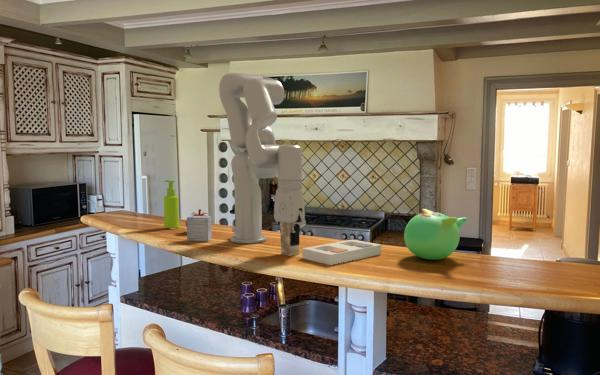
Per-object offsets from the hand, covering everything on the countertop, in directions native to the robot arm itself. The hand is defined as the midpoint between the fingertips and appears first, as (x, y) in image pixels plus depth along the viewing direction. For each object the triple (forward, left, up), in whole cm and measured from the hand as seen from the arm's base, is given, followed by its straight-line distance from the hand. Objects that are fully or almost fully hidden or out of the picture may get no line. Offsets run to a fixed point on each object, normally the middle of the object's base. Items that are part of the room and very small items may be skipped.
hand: (290, 243), depth 149 cm
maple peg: (0, 0, -3) cm, 3 cm away
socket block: (+13, +10, -3) cm, 17 cm away
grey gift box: (-39, -10, -4) cm, 40 cm away
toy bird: (+33, +28, -4) cm, 43 cm away
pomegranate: (-54, -2, -4) cm, 54 cm away
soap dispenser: (-72, -5, -3) cm, 72 cm away
